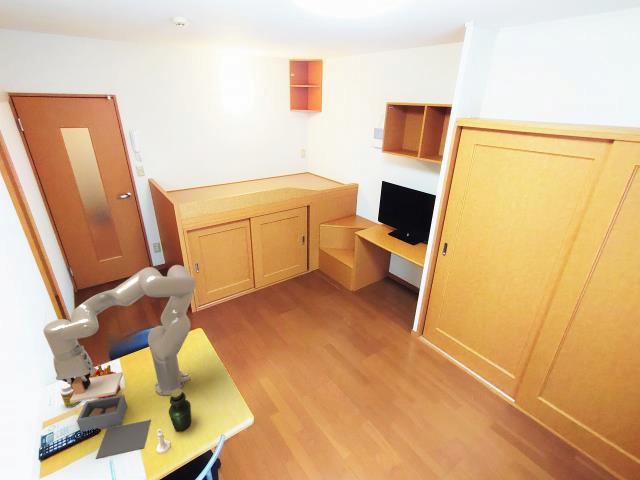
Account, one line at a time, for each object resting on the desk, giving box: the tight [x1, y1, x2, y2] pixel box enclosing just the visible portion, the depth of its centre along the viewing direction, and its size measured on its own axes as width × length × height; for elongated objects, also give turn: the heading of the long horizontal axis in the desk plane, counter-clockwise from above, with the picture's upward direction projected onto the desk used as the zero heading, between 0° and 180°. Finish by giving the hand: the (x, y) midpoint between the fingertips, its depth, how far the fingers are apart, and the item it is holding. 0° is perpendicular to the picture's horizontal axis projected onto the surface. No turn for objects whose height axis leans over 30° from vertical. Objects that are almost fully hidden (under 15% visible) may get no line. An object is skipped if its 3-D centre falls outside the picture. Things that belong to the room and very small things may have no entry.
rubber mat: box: [95, 419, 152, 460], centre depth 122 cm, size 16×12×1 cm
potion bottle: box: [168, 388, 192, 433], centre depth 124 cm, size 8×8×18 cm
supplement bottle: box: [60, 382, 81, 408], centre depth 134 cm, size 6×6×10 cm
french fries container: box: [89, 364, 121, 399], centre depth 138 cm, size 7×9×14 cm
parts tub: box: [76, 394, 128, 433], centre depth 128 cm, size 14×9×7 cm, turn 106°
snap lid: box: [70, 371, 124, 403], centre depth 122 cm, size 15×10×6 cm, turn 106°
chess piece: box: [155, 428, 171, 455], centre depth 117 cm, size 5×5×10 cm
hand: (82, 387), depth 121 cm, fingers closed on snap lid, 3 cm apart
